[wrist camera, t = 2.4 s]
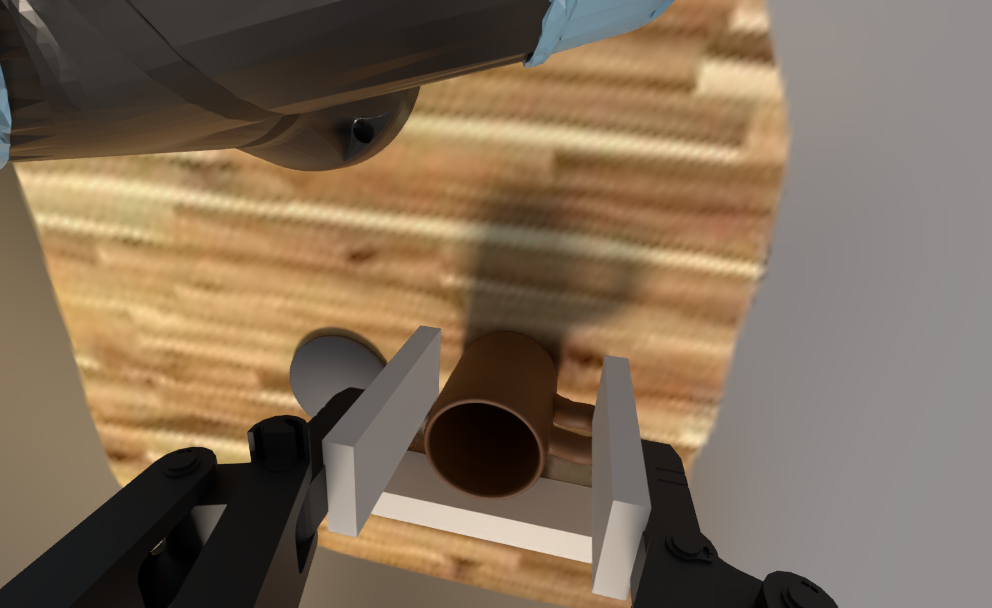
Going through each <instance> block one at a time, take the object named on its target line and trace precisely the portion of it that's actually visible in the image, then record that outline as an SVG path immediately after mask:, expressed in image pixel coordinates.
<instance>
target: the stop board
mask: <svg viewBox="0 0 992 608" xmlns="http://www.w3.org/2000/svg"><path fill="white" fill-rule="evenodd" d="M371 514H374V515H379V516H383V517H388V518H392V519H397V520H401V521H405V522H410V523H414V524H419V525H423V526H428V527H432V528H436V529H441V530H445V531H450V532H454V533H459V534H463V535H467V536H472V537H476V538H481V539H485V540H490V541H494V542H498V543H503V544H507V545H512V546H516V547H521V548H525V549H529V550H534V551H538V552H543V553H547V554H552V555H556V556H560V557H565V558H569V559H574V560H578V561H583V562H587V563H591V564H592V488H591V487H587V486H582V485H577V484H572V483H567V482H562V481H557V480H552V479H547V478H542V477H539V479H538V480H537V481H536V482H535V484H534V485H533V486H532V487H530V488H529V489H528V490H527V491H525V492H524V493H522V494H520V495H518V496H515V497H512V498H509V499H504V500H483V499H477V498H474V497H470V496H468V495H465V494H463V493H461V492H459V491H457V490H455V489H453V488H452V487H450V486H449V485H448V484H446V483H445V482H444V481H443V480H442V479H441V478H440V477H439V476H438V475H437V474H436V473H435V471H434V470H433V468H432V467H431V465H430V463H429V461H428V459H427V456H426V454H423V453H418V452H413V451H408V450H407V451H406V452H405V454H404V456H403V458H402V459H401V461H400V463H399V465H398V466H397V468H396V470H395V472H394V473H393V475H392V477H391V479H390V480H389V482H388V484H387V486H386V487H385V489H384V491H383V493H382V494H381V496H380V498H379V500H378V501H377V503H376V505H375V507H374V508H373V510H372V512H371Z"/></svg>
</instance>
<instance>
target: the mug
mask: <svg viewBox="0 0 992 608" xmlns="http://www.w3.org/2000/svg"><path fill="white" fill-rule="evenodd" d="M556 392H557V374H556V369H555V366H554V363H553V361H552V359H551V357H550V356H549V354H548V353H547V351H546V350H545V349H544V348H543V347H542V346H541V345H539V344H538V343H537V342H536V341H534V340H533V339H531V338H529V337H527V336H524V335H522V334H518V333H514V332H495V333H491V334H487V335H485V336H483V337H481V338H479V339H477V340H476V341H475V342H474V343H472V344H471V345H470V346H469V347H468V348H467V350H466V351H465V352H464V354H463V355H462V357H461V359H460V360H459V362H458V364H457V366H456V367H455V369H454V371H453V372H452V374H451V376H450V377H449V379H448V381H447V383H446V384H445V386H444V388H443V390H442V391H441V393H440V395H439V397H438V399H437V401H436V403H435V405H434V407H433V409H432V411H431V414H430V417H429V419H428V421H427V424H426V427H425V430H424V437H423V438H424V449H425V453H426V456H427V459H428V461H429V463H430V465H431V467H432V468H433V470H434V471H435V473H436V474H437V475H438V476H439V477H440V478H441V479H442V480H443V481H444V482H445V483H446V484H448V485H449V486H450V487H452V488H453V489H455V490H457V491H459V492H461V493H463V494H465V495H468V496H470V497H474V498H477V499H483V500H504V499H509V498H512V497H515V496H518V495H520V494H522V493H524V492H525V491H527V490H528V489H529V488H530V487H532V486H533V485H534V484H535V482H536V481H537V480H538V479H539V477H540V475H541V474H542V471H543V469H544V465H545V461H546V457H547V455H549V454H551V455H554V456H557V457H560V458H562V459H565V460H568V461H571V462H573V463H576V464H581V465H592V437H585V436H582V435H579V434H576V433H573V432H570V431H567V430H564V429H561V428H558V427H555V426H553V422H555V423H557V424H559V425H562V426H565V427H570V428H577V429H584V430H588V431H590V432H592V421H593V415H594V410H595V406H594V405H591V404H586V403H579V402H573V401H571V400H569V399H567V398H564V397H562V396H560V395H559V394H557V393H556Z"/></svg>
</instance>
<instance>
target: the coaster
mask: <svg viewBox="0 0 992 608" xmlns="http://www.w3.org/2000/svg"><path fill="white" fill-rule="evenodd" d="M384 368H385V365H384V364H383V362H382V361H381V360H380V359H379V357H378V356H377V355H376V354H375V353H374V352H373V351H371V350H370V349H369V348H368V347H366V346H364V345H363V344H361V343H359V342H357V341H355V340H353V339H350V338H347V337H342V336H335V335H330V336H322V337H318V338H315V339H313V340H311V341H310V342H308V343H307V344H306V345H304V346H303V347H302V348H301V349H300V350H299V351H298V352H297V353H296V355H295V356H294V358H293V360H292V363H291V366H290V383H291V387H292V391H293V393H294V395H295V397H296V399H297V401H298V403H299V404H300V406H301V407H302V408H303V409H304V411H305V412H306V413H307V414H308V415H309V416H310V417H311V418H313V417H314V416H316V415H317V413H318V412H319V411H320V410H321V409H322V408H323V407H325V404H326V403H327V402H328V401H329V400H330V399H331V398H332V397H333V396H334V395H335V394H337V393H339V392H341V391H343V390H345V389H347V388H348V387H354V388H359V389H365V390H366V389H367V387H368V386H369V385H370V384H371V383H372V382H373V380H374V379H375V378H376V377H377V376H378V375H379V373H380V372H381V371H382V370H383V369H384Z"/></svg>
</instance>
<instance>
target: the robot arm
mask: <svg viewBox="0 0 992 608" xmlns="http://www.w3.org/2000/svg"><path fill="white" fill-rule="evenodd" d="M673 2H674V0H0V169H1V168H2V167H4V165H5V164H6V163H9V162H10V163H11V162H27V161H43V160H59V159H75V158H91V157H107V156H123V155H140V154H156V153H172V152H188V151H204V150H220V149H230V148H236V149H238V150H241V151H243V152H246V153H248V154H251V155H253V156H256V157H258V158H261V159H263V160H266V161H268V162H271V163H273V164H276V165H279V166H282V167H285V168H290V169H294V170H301V171H327V170H333V169H339V168H345V167H349V166H353V165H356V164H359V163H361V162H363V161H366V160H368V159H369V158H371V157H373V156H374V155H376V154H377V153H379V152H380V151H382V150H383V149H384V148H385V147H386V146H387V145H388V144H389V143H390V142H391V141H392V140H393V139H394V138H395V137H396V136H397V134H398V133H399V132H400V130H401V129H402V128H403V126H404V125H405V123H406V121H407V120H408V118H409V116H410V114H411V112H412V109H413V107H414V105H415V102H416V99H417V96H418V93H419V89H420V86H421V85H425V84H430V83H434V82H438V81H442V80H447V79H451V78H455V77H459V76H464V75H468V74H472V73H476V72H481V71H485V70H489V69H493V68H498V67H502V66H506V65H510V64H515V63H519V62H522V63H523V65H524V67H525V68H530V67H535V66H538V65H540V64H543V63H544V62H545V61H546V60H547V59H548V58H549V57H550V55H551V54H554V53H557V52H561V51H564V50H568V49H571V48H575V47H578V46H582V45H585V44H589V43H592V42H596V41H599V40H603V39H606V38H610V37H613V36H617V35H620V34H624V33H627V32H630V31H633V30H636V29H638V28H640V27H642V26H644V25H646V24H648V23H650V22H651V21H653V20H654V19H656V18H657V17H658V16H660V15H661V14H663V13H664V12H665V11H666V9H667V8H668V7H669V6H670V5H671V4H672V3H673ZM440 345H441V329H440V328H434V327H427V326H420V327H419V328H418V329H417V330H416V331H415V333H414V334H413V335H412V336H411V337H410V338H409V340H408V341H407V342H406V343H405V344H404V345H403V347H402V348H401V349H400V350H399V351H398V352H397V354H396V355H395V356H394V357H393V358H392V359H391V361H390V362H389V363H388V364H387V365H386V366H385V368H384V369H383V370H382V371H381V372H380V373H379V375H378V376H377V377H376V378H375V379H374V380H373V382H372V383H371V384H370V385H369V386H368V387H367V389H366V390H365V389H359V388H354V387H348V388H347V389H345V390H343V391H341V392H339V393H337V394H335V395H334V396H333V397H332V398H331V399H330V400H329V401H328V402H327V403H326V404H325V407H323V408H322V409H321V410H320V411H319V412H318V413H317V415H316V416H314V417H313V418H312V419H311V420H310V421H309V422H308V423H307V422H306V421H305V420H304V419H302V418H300V417H298V416H291V415H282V416H274V417H271V418H268V419H264V420H262V421H261V422H259V423H257V424H255V425H254V426H253V427H252V428H251V429H250V430H249V431H248V432H247V435H248V442H249V449H250V456H251V462H250V463H236V464H217V459H216V455H215V454H214V453H213V451H212V450H210V449H207V448H204V447H189V448H184V449H179V450H176V451H174V452H171V453H169V454H166V455H165V456H163V457H161V458H160V459H158V460H157V461H155V462H154V463H153V464H152V465H150V466H149V467H148V468H147V469H146V470H144V471H143V472H142V473H141V474H140V475H138V476H137V477H136V478H135V479H133V480H132V481H131V482H130V483H129V484H127V485H126V486H125V487H124V488H122V489H121V490H120V491H119V492H118V493H117V494H115V495H114V496H113V497H112V498H110V499H109V500H108V501H107V502H106V503H104V504H103V505H102V506H101V507H100V508H98V509H97V510H96V511H95V512H93V513H92V514H91V515H90V516H88V517H87V518H86V519H85V520H84V521H82V522H81V523H80V524H79V525H78V526H76V527H75V528H74V529H73V530H71V531H70V532H69V533H68V534H67V535H65V536H64V537H63V538H62V539H61V540H59V541H58V542H57V543H56V544H54V545H53V546H52V547H51V548H50V549H49V550H47V551H46V552H45V553H43V554H42V555H41V556H40V557H39V558H38V559H36V560H35V561H34V562H33V563H31V564H30V565H29V566H28V567H27V568H25V569H24V570H23V571H22V572H20V573H19V574H18V575H17V576H16V577H14V578H13V579H12V580H11V581H10V582H8V583H7V584H6V585H5V586H3V587H2V588H1V589H0V608H298V607H299V603H300V599H301V596H302V593H303V590H304V587H305V583H306V580H307V577H308V573H309V570H310V567H311V563H312V559H313V557H314V553H315V550H316V546H317V541H318V531H317V528H318V526H319V525H320V523H321V522H322V520H323V519H324V517H325V516H326V515H327V521H328V531H331V532H335V533H340V534H344V535H348V536H352V537H358V535H359V533H360V531H361V529H362V528H363V526H364V524H365V522H366V521H367V519H368V517H369V515H370V514H371V512H372V510H373V508H374V507H375V505H376V503H377V501H378V500H379V498H380V496H381V494H382V493H383V491H384V489H385V487H386V486H387V484H388V482H389V480H390V479H391V477H392V475H393V473H394V472H395V470H396V468H397V466H398V465H399V463H400V461H401V459H402V458H403V456H404V454H405V452H406V451H407V449H408V447H409V445H410V444H411V442H412V440H413V438H414V437H415V435H416V433H417V431H418V430H419V428H420V426H421V424H422V423H423V421H424V419H425V417H426V416H427V414H428V412H429V410H430V409H431V407H432V405H433V403H434V402H435V400H436V398H437V396H438V392H439V368H440ZM161 541H162V543H161V544H160V545H159V546H158V547H157V548H155V546H157V545H158V544H159V543H160V542H161ZM154 548H155V549H154ZM153 549H154V550H153ZM152 550H153V551H152ZM630 587H631V599H632V606H631V608H838V606H837V605H836V603H835V602H834V600H833V599H832V598H831V597H830V596H829V595H828V594H827V593H826V592H825V591H823V589H821V588H820V587H819V586H817V585H816V584H814V583H813V582H811V581H810V580H808V579H806V578H805V577H802V576H799V575H797V574H794V573H792V572H784V571H776V572H773V573H770V574H768V575H767V577H766V578H765V580H764V581H761V580H759V579H757V578H755V577H753V576H750V575H748V574H746V573H744V572H742V571H740V570H738V569H736V568H734V567H733V566H731V565H729V564H727V563H726V562H724V561H723V560H722V559H720V558H719V557H718V553H717V551H716V549H715V547H714V546H713V545H712V543H711V541H710V540H708V539H707V538H706V537H705V536H704V535H703V534H702V533H701V532H700V528H699V524H698V520H697V517H696V513H695V509H694V505H693V502H692V498H691V494H690V490H689V488H688V483H687V479H686V476H685V472H684V468H683V464H682V460H681V458H680V457H679V455H678V454H677V453H676V452H675V450H674V449H673V448H672V447H671V445H670V444H664V443H659V442H653V441H648V440H643V439H641V438H640V432H639V425H638V419H637V412H636V406H635V399H634V393H633V386H632V380H631V373H630V367H629V360H628V359H627V358H621V357H615V356H608V355H605V358H604V363H603V369H602V374H601V379H600V384H599V389H598V395H597V400H596V405H595V410H594V415H593V421H592V593H595V594H599V595H604V596H608V597H612V598H616V599H621V600H625V601H626V599H627V596H628V592H629V588H630Z"/></svg>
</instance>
